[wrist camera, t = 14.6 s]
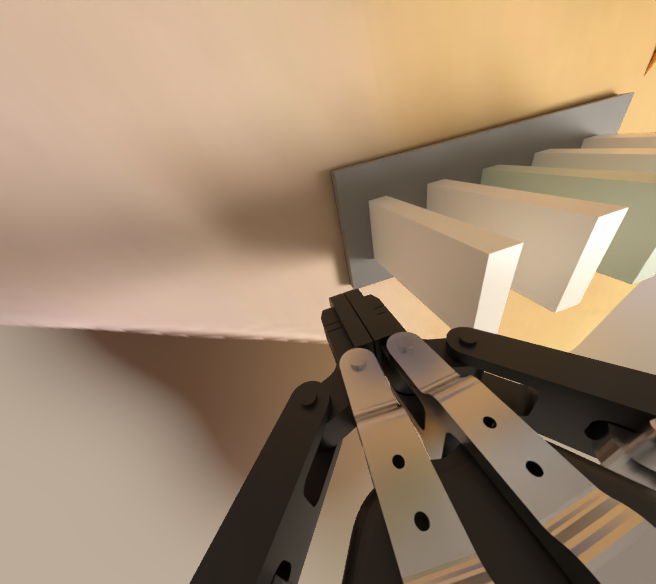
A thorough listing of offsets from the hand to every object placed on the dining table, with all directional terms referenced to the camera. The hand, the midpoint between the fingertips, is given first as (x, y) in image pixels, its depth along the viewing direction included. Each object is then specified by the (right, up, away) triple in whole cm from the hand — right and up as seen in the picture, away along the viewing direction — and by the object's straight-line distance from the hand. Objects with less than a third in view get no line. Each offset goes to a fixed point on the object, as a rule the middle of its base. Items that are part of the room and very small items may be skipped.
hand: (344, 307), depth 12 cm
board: (+13, +9, +9) cm, 18 cm away
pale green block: (+13, +9, +8) cm, 18 cm away
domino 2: (+8, +7, +8) cm, 14 cm away
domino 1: (+3, +6, +7) cm, 10 cm away
